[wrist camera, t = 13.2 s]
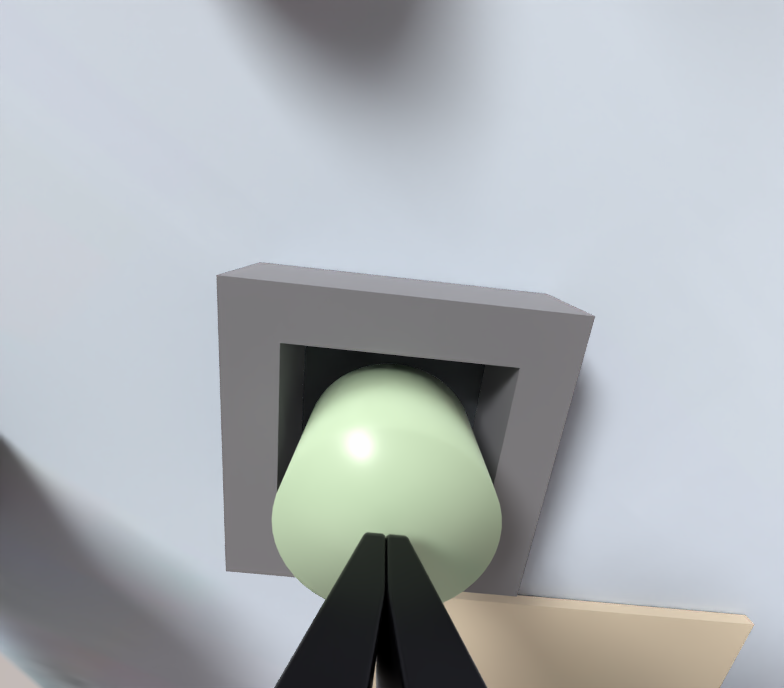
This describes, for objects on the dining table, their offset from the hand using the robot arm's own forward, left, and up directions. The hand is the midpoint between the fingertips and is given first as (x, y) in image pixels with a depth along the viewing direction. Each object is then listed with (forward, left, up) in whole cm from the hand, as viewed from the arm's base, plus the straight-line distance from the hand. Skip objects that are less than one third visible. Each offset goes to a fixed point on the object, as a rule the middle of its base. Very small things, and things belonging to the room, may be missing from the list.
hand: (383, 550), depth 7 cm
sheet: (+8, -14, -6) cm, 17 cm away
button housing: (0, 0, -6) cm, 6 cm away
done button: (0, 0, -4) cm, 4 cm away
